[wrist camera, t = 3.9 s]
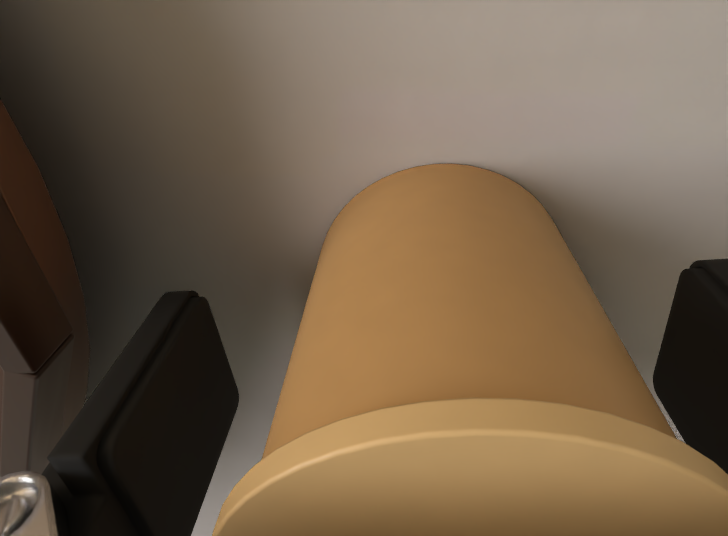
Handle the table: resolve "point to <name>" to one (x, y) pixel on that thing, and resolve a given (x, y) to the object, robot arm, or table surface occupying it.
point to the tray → (36, 315)
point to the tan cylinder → (464, 386)
